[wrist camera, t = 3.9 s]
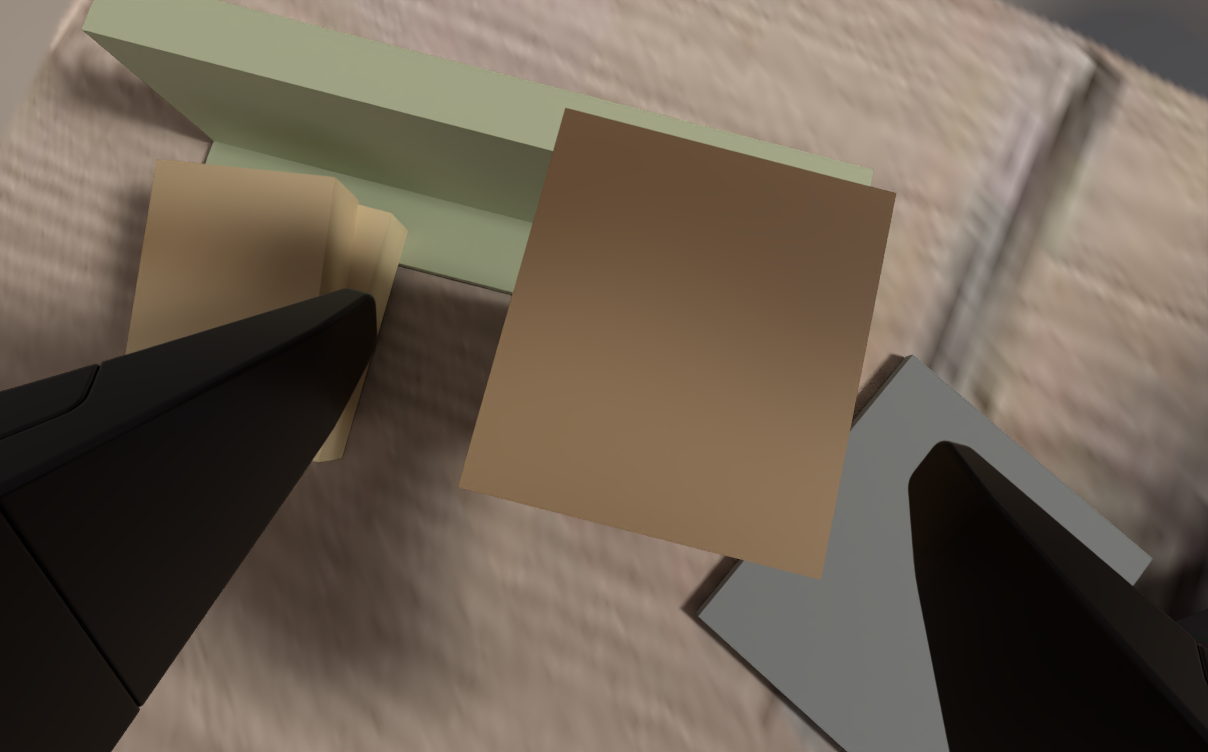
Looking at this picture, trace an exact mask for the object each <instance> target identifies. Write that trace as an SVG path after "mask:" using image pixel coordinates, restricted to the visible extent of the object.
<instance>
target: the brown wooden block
mask: <svg viewBox="0 0 1208 752" xmlns="http://www.w3.org/2000/svg"><path fill="white" fill-rule="evenodd" d="M895 197H896V193H894V192H890V191H886V190H882V189H878V188H874V187H871V186H867V185H863V184H859V183H855V182H851V181H847V180H843V179H840V178H836V177H832V176H828V175H824V174H820V173H816V172H813V171H809V170H805V169H801V168H797V167H793V166H789V165H785V164H782V163H778V162H774V161H770V160H766V159H762V158H758V157H755V156H751V155H747V154H743V153H739V152H735V151H731V150H727V149H724V148H720V147H716V146H712V145H708V144H704V143H700V142H697V141H693V140H689V139H685V138H681V137H677V136H673V135H669V134H666V133H662V132H658V131H654V130H650V129H646V128H642V127H639V126H635V125H631V124H627V123H623V122H619V121H615V120H611V119H608V118H604V117H600V116H596V115H592V114H588V113H584V112H581V111H577V110H573V109H569V108H565V110H564V114H563V117H562V121H561V125H560V128H559V132H558V135H557V139H556V142H555V146H554V149H553V153H552V156H551V160H550V163H549V167H548V170H547V174H546V178H545V181H544V185H543V188H542V192H541V195H540V199H539V202H538V206H537V209H536V213H535V216H534V220H533V223H532V227H531V231H530V234H529V238H528V241H527V245H526V248H525V252H524V255H523V259H522V262H521V266H520V269H519V273H518V277H517V280H516V284H515V287H514V291H513V294H512V298H511V301H510V305H509V308H508V312H507V315H506V319H505V322H504V326H503V330H502V333H501V337H500V340H499V344H498V347H497V351H496V354H495V358H494V361H493V365H492V368H491V372H490V375H489V379H488V383H487V386H486V390H485V393H484V397H483V400H482V404H481V407H480V411H479V414H478V418H477V421H476V425H475V428H474V432H473V436H472V439H471V443H470V446H469V450H468V453H467V457H466V460H465V464H464V467H463V471H462V474H461V478H460V482H459V485H458V488H462V489H466V490H470V491H474V492H478V493H482V494H486V495H490V496H494V497H497V498H501V499H505V500H509V501H513V502H517V503H521V504H525V505H529V506H533V507H537V508H541V509H545V510H548V511H552V512H556V513H560V514H564V515H568V516H572V517H576V518H580V519H584V520H588V521H592V522H595V523H599V524H603V525H607V526H611V527H615V528H619V529H623V530H627V531H631V532H635V533H639V534H643V535H646V536H650V537H654V538H658V539H662V540H666V541H670V542H674V543H678V544H682V545H686V546H690V547H694V548H697V549H701V550H705V551H709V552H713V553H717V554H721V555H725V556H729V557H733V558H737V559H741V560H744V561H748V562H752V563H756V564H760V565H764V566H768V567H772V568H776V569H780V570H784V571H788V572H792V573H795V574H799V575H803V576H807V577H811V578H815V579H819V580H821V577H822V572H823V567H824V562H825V557H826V552H827V546H828V541H829V536H830V531H831V526H832V521H833V516H834V510H835V505H836V500H837V495H838V490H839V485H840V480H841V475H842V469H843V464H844V459H845V454H846V449H847V444H848V439H849V433H850V428H851V423H852V418H853V413H854V408H855V403H856V397H857V392H858V387H859V382H860V377H861V372H862V367H863V361H864V356H865V351H866V346H867V341H868V336H869V331H870V325H871V320H872V315H873V310H874V305H875V300H876V295H877V289H878V284H879V279H880V274H881V269H882V264H883V259H884V254H885V248H886V243H887V238H888V233H889V228H890V223H891V218H892V212H893V207H894V202H895Z"/></svg>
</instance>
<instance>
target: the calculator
mask: <svg viewBox="0 0 1208 752" xmlns="http://www.w3.org/2000/svg"><path fill="white" fill-rule="evenodd" d="M1175 622H1176V623H1177V624H1178V625H1179V626H1181V627H1182V628H1183V629H1184V630H1185V631H1186V632H1188V633H1189V634H1190V635H1191V636H1192V637H1193V638H1194V639H1195V640H1196V643H1197V644H1201V645H1203V646H1204V647H1205V648H1206V649H1208V609H1207V610H1204V611H1202V612H1199V613H1196V614H1194V615H1191V616H1188V617H1186V618H1183V619H1180V620H1178V621H1175Z"/></svg>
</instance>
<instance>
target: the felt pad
mask: <svg viewBox="0 0 1208 752" xmlns="http://www.w3.org/2000/svg"><path fill="white" fill-rule="evenodd" d="M944 440H947V441H951V442H955V443H959V444H963V445H967V446H969V447H971V448H972V449H974V450H975V451H976V452H977V453H978V454H979V455H981V456H982V457H983V458H984V459H985V460H986V461H988V462H989V463H990V464H991V465H992V466H993V467H995V468H996V469H997V470H998V471H999V472H1000V473H1002V474H1003V475H1004V476H1005V477H1006V478H1007V479H1009V480H1010V481H1011V482H1012V483H1013V484H1014V485H1016V486H1017V487H1018V488H1019V489H1020V490H1021V491H1023V492H1024V493H1025V494H1026V495H1027V496H1028V497H1030V498H1031V499H1032V500H1033V501H1034V502H1035V503H1037V504H1038V505H1039V506H1040V507H1041V508H1043V509H1044V510H1045V511H1046V512H1047V513H1048V514H1050V515H1051V516H1052V517H1053V518H1054V519H1055V520H1057V521H1058V522H1059V523H1060V524H1061V525H1062V526H1064V527H1065V528H1066V529H1067V530H1068V531H1069V532H1071V533H1072V534H1073V535H1074V536H1075V537H1076V538H1078V539H1079V540H1080V541H1081V542H1082V543H1083V544H1085V545H1086V546H1087V547H1088V548H1089V549H1090V550H1092V551H1093V552H1094V553H1095V554H1096V555H1097V556H1099V557H1100V558H1101V559H1102V560H1103V561H1104V562H1106V563H1107V564H1108V565H1109V566H1110V567H1112V568H1113V569H1114V570H1115V571H1116V572H1117V573H1119V574H1120V575H1121V576H1122V577H1123V578H1124V579H1126V580H1127V581H1128V582H1129V583H1130V584H1131V585H1134V584H1135V583H1136V581H1137V580H1138V578H1139V577H1140V576H1141V574H1142V573H1143V571H1144V570H1145V569H1146V567H1147V566H1148V564H1149V563H1150V562H1151V560H1152V558H1151V557H1150V556H1149V555H1148V554H1146V553H1145V552H1144V551H1143V550H1142V549H1141V548H1139V547H1138V546H1137V545H1136V544H1135V543H1134V542H1132V541H1131V540H1130V539H1129V538H1128V537H1127V536H1125V535H1124V534H1123V533H1122V532H1121V531H1119V530H1118V529H1117V528H1116V527H1115V526H1114V525H1112V524H1111V523H1110V522H1109V521H1108V520H1107V519H1105V518H1104V517H1103V516H1102V515H1101V514H1099V513H1098V512H1097V511H1096V510H1095V509H1094V508H1092V507H1091V506H1090V505H1089V504H1088V503H1087V502H1085V501H1084V500H1083V499H1082V498H1081V497H1080V496H1078V495H1077V494H1076V493H1075V492H1074V491H1072V490H1071V489H1070V488H1069V487H1068V486H1067V485H1065V484H1064V483H1063V482H1062V481H1061V480H1060V479H1058V478H1057V477H1056V476H1055V475H1054V474H1053V473H1051V472H1050V471H1049V470H1048V469H1047V468H1045V467H1044V466H1043V465H1042V464H1041V463H1040V462H1038V461H1037V460H1036V459H1035V458H1034V457H1033V456H1031V455H1030V454H1029V453H1028V452H1027V451H1025V450H1024V449H1023V448H1022V447H1021V446H1020V445H1018V444H1017V443H1016V442H1015V441H1014V440H1013V439H1011V438H1010V437H1009V436H1008V435H1007V434H1006V433H1004V432H1003V431H1002V430H1001V429H1000V428H998V427H997V426H996V425H995V424H994V423H993V422H991V421H990V420H989V419H988V418H987V417H986V416H984V415H983V414H982V413H981V412H980V411H978V410H977V409H976V408H975V407H974V406H973V405H971V404H970V403H969V402H968V401H967V400H966V399H964V398H963V397H962V396H961V395H960V394H959V393H957V392H956V391H955V390H954V389H953V388H951V387H950V386H949V385H948V384H947V383H946V382H944V381H943V380H942V379H941V378H940V377H939V376H937V375H936V374H935V373H934V372H933V371H932V370H930V369H929V368H928V367H927V366H926V365H924V364H923V363H922V362H921V361H920V360H919V359H917V358H916V357H915V356H914V355H910V356H907V357H905V358H904V359H903V361H902V362H901V363H900V364H899V365H898V367H897V368H896V369H895V370H894V372H893V373H892V374H891V375H890V376H889V378H888V379H887V380H886V381H885V383H884V384H883V385H882V386H881V387H880V389H879V390H878V391H877V392H876V393H875V395H874V396H873V397H872V398H871V400H870V401H869V402H868V403H867V404H866V406H865V407H864V408H863V409H862V411H861V412H860V413H859V414H858V415H857V417H856V418H855V419H854V420H853V421H852V423H851V428H850V433H849V439H848V444H847V449H846V454H845V459H844V464H843V469H842V475H841V480H840V485H839V490H838V495H837V500H836V505H835V510H834V516H833V521H832V526H831V531H830V536H829V541H828V546H827V552H826V557H825V562H824V567H823V572H822V577H821V580H819V579H815V578H811V577H807V576H803V575H799V574H795V573H792V572H788V571H784V570H780V569H776V568H772V567H768V566H764V565H760V564H756V563H752V562H748V561H744V560H741V559H739V560H738V561H737V563H736V564H735V565H734V566H733V568H732V569H731V570H730V571H729V572H728V574H727V575H726V576H725V577H724V578H723V580H722V581H721V582H720V583H719V585H718V586H717V587H716V588H715V589H714V591H713V592H712V593H711V594H710V596H709V597H708V598H707V599H706V600H705V602H704V603H703V604H702V605H701V606H700V608H699V609H698V610H697V611H696V614H697V615H698V617H700V618H701V619H702V620H703V621H704V622H705V623H706V624H707V625H708V626H709V627H711V628H712V629H713V630H714V631H715V632H716V633H717V634H718V635H719V636H720V637H722V638H723V639H724V640H725V641H726V642H727V643H728V644H729V645H730V646H731V647H733V648H734V649H735V650H736V651H737V652H738V653H739V654H740V655H741V656H742V657H744V658H745V659H746V660H747V661H748V662H749V663H750V664H751V665H752V666H753V667H755V668H756V669H757V670H758V671H759V672H760V673H761V674H762V675H763V676H764V677H766V678H767V679H768V680H769V681H770V682H771V683H772V684H773V685H774V686H775V687H777V688H778V689H779V690H780V691H781V692H782V693H783V694H784V695H785V696H786V697H788V698H789V699H790V700H791V701H792V702H793V703H794V704H795V705H796V706H797V707H798V708H800V709H801V710H802V711H803V712H804V713H805V714H806V715H807V716H808V717H809V718H811V719H812V720H813V721H814V722H815V723H816V724H817V725H818V726H819V727H820V728H822V729H823V730H824V731H825V732H826V733H827V734H828V735H829V736H830V737H831V738H833V739H834V740H835V741H836V742H837V743H838V744H839V745H840V746H841V747H842V748H844V749H845V750H846V751H847V752H949V749H948V743H947V738H946V733H945V728H944V723H943V718H942V713H941V708H940V703H939V698H938V692H937V687H936V682H935V677H934V672H933V667H932V662H931V657H930V652H929V646H928V641H927V636H926V631H925V626H924V621H923V616H922V611H921V606H920V600H919V595H918V590H917V584H916V578H915V571H914V562H913V550H912V537H911V524H910V511H909V498H908V482H909V479H910V477H911V475H912V473H913V472H914V470H915V469H916V468H917V466H918V465H919V464H920V463H921V461H922V460H923V459H924V458H925V456H926V455H927V454H928V453H929V451H930V450H931V449H932V447H933V446H934V445H935V444H936V443H938V442H940V441H944Z"/></svg>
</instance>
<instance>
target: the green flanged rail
mask: <svg viewBox="0 0 1208 752" xmlns="http://www.w3.org/2000/svg"><path fill="white" fill-rule="evenodd" d="M82 30H83V31H84V32H85V33H86V34H88V35H89V36H90V37H91V38H92V39H93V40H95V41H96V42H97V43H98V44H99V45H101V46H102V47H103V48H104V49H105V50H107V51H108V52H109V53H110V54H111V55H112V56H114V57H115V58H116V59H117V60H118V61H120V62H121V63H122V64H123V65H124V66H125V67H127V68H128V69H129V70H130V71H131V72H133V73H134V74H135V75H136V76H137V77H139V78H140V79H141V80H142V81H143V82H144V83H146V84H147V85H148V86H149V87H150V88H152V89H153V90H154V91H155V92H156V93H158V94H159V95H160V96H161V97H162V98H163V99H165V100H166V101H167V102H168V103H169V104H171V105H172V106H173V107H174V108H175V109H177V110H178V111H179V112H180V113H181V114H182V115H184V116H185V117H186V118H187V119H188V120H190V121H191V122H192V123H193V124H194V125H195V126H197V127H198V128H199V129H200V130H201V131H203V132H204V133H205V134H206V135H207V136H209V137H210V138H211V139H212V140H213V144H212V147H211V149H210V152H209V155H208V158H207V160H206V163H205V164H210V165H220V166H230V167H240V168H250V169H260V170H270V171H280V172H290V173H300V174H310V175H320V176H330V177H335V178H337V179H338V180H339V181H340V182H341V183H342V184H343V185H344V186H345V187H346V188H347V189H348V190H349V191H350V192H351V193H352V194H353V195H354V196H355V197H356V198H357V199H358V200H359V203H358V204H359V205H362V206H366V207H370V208H374V209H378V210H382V211H386V212H390V213H392V214H393V215H394V216H395V217H396V218H397V220H398V221H399V222H400V223H401V224H402V225H403V226H404V227H405V228H406V229H407V230H408V233H407V237H406V240H405V243H404V247H403V250H402V254H401V257H400V261H399V264H398V265H399V266H402V267H406V268H410V269H414V270H418V271H422V272H426V273H430V274H434V275H438V276H441V277H445V278H449V279H453V280H457V281H461V282H465V283H469V284H473V285H477V286H480V287H484V288H488V289H492V290H496V291H500V292H504V293H508V294H513V291H514V287H515V284H516V280H517V277H518V273H519V269H520V266H521V262H522V259H523V255H524V252H525V248H526V245H527V241H528V238H529V234H530V231H531V227H532V223H533V220H534V216H535V213H536V209H537V206H538V202H539V199H540V195H541V192H542V188H543V185H544V181H545V178H546V174H547V170H548V167H549V163H550V160H551V156H552V153H553V149H554V146H555V142H556V139H557V135H558V132H559V128H560V125H561V121H562V117H563V114H564V110H565V108H569V109H573V110H577V111H581V112H584V113H588V114H592V115H596V116H600V117H604V118H608V119H611V120H615V121H619V122H623V123H627V124H631V125H635V126H639V127H642V128H646V129H650V130H654V131H658V132H662V133H666V134H669V135H673V136H677V137H681V138H685V139H689V140H693V141H697V142H700V143H704V144H708V145H712V146H716V147H720V148H724V149H727V150H731V151H735V152H739V153H743V154H747V155H751V156H755V157H758V158H762V159H766V160H770V161H774V162H778V163H782V164H785V165H789V166H793V167H797V168H801V169H805V170H809V171H813V172H816V173H820V174H824V175H828V176H832V177H836V178H840V179H843V180H847V181H851V182H855V183H859V184H863V185H867V186H870V184H871V179H872V174H873V169H870V168H866V167H862V166H858V165H855V164H851V163H847V162H843V161H839V160H835V159H831V158H827V157H824V156H820V155H816V154H812V153H808V152H804V151H800V150H796V149H793V148H789V147H785V146H781V145H777V144H773V143H769V142H765V141H762V140H758V139H754V138H750V137H746V136H742V135H738V134H734V133H731V132H727V131H723V130H719V129H715V128H711V127H707V126H703V125H700V124H696V123H692V122H688V121H684V120H680V119H676V118H672V117H669V116H665V115H661V114H657V113H653V112H649V111H645V110H641V109H638V108H634V107H630V106H626V105H622V104H618V103H614V102H610V101H607V100H603V99H599V98H595V97H591V96H587V95H583V94H579V93H576V92H572V91H568V90H564V89H560V88H556V87H552V86H548V85H545V84H541V83H537V82H533V81H529V80H525V79H521V78H517V77H514V76H510V75H506V74H502V73H498V72H494V71H490V70H486V69H483V68H479V67H475V66H471V65H467V64H463V63H459V62H455V61H452V60H448V59H444V58H440V57H436V56H432V55H428V54H424V53H421V52H417V51H413V50H409V49H405V48H401V47H397V46H393V45H390V44H386V43H382V42H378V41H374V40H370V39H366V38H362V37H359V36H355V35H351V34H347V33H343V32H339V31H335V30H331V29H328V28H324V27H320V26H316V25H312V24H308V23H304V22H300V21H297V20H293V19H289V18H285V17H281V16H277V15H273V14H269V13H266V12H262V11H258V10H254V9H250V8H246V7H242V6H238V5H235V4H231V3H227V2H223V1H219V0H94V1H93V3H92V6H91V8H90V11H89V13H88V15H87V18H86V20H85V23H84V25H83V28H82Z"/></svg>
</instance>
